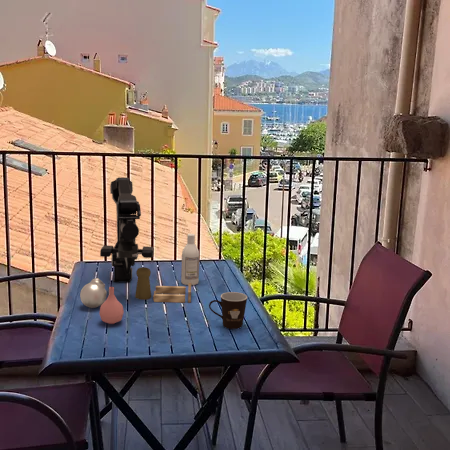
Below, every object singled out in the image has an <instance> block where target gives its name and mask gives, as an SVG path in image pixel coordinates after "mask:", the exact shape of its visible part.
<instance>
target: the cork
mask: <svg viewBox="0 0 450 450" xmlns="http://www.w3.org/2000/svg"><path fill="white" fill-rule="evenodd" d="M151 273H152V272H151V269H150V268H148V267H146V266H145V267H139V268H137V270H136V276H137V279H136V280H137V282H136V289H135V294H134V295H135V296H134V298H135V299H137V300H142V301H143V300H150V299H151V298H153V295H152V289H151V282H150V276H151Z"/></svg>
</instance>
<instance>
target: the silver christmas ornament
mask: <svg viewBox="0 0 450 450" xmlns="http://www.w3.org/2000/svg"><path fill="white" fill-rule="evenodd" d="M105 287H106V284H105V283H104V282H103V281H102V280H101V279H100V278H98V277H97V278H93V279H91V281H90V282H89V283H86V284H85V285H84V286H83V287H82V289H81V290H80V292H79V293H80V301H81V303H82V304H83V305H84V306H86V307H87V308H90V309H94V308H95V309H96V308H100V307H101V305H102V304H103V303H104V302H105V301H106V300H107V294H108V292H107V289H106V288H105Z"/></svg>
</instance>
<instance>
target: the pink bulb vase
mask: <svg viewBox="0 0 450 450" xmlns="http://www.w3.org/2000/svg"><path fill="white" fill-rule="evenodd" d="M124 313H125V312H124V306H123V304H122V303H121V302H120V301H119V300H118V299H117V297H116V295H115V287H114V286H109V287H108V295H107V297H106V299H105V301H104V303H103V304H102V305H101V306H99V314H98V315H99V317H100V320H101V321H102V322H103V323H106V324H108V325H114V324H115V323H119V322H121V321H122V319H123V317H124Z"/></svg>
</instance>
